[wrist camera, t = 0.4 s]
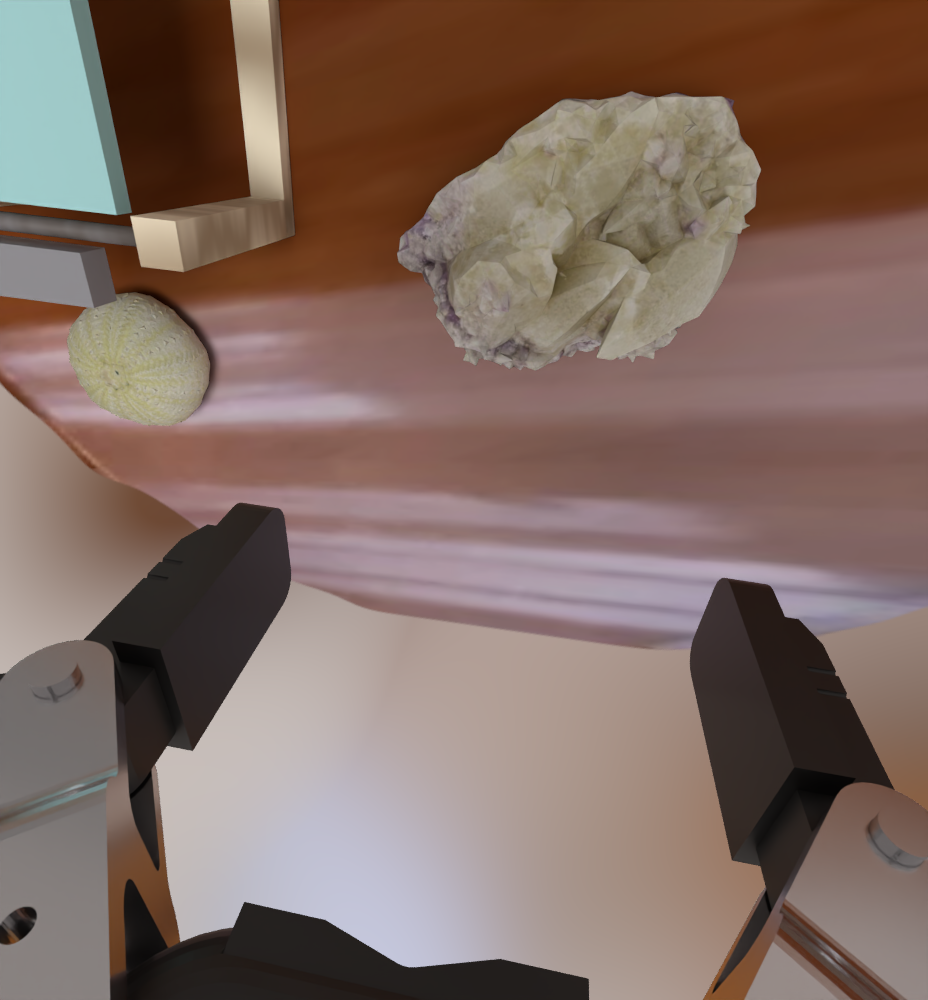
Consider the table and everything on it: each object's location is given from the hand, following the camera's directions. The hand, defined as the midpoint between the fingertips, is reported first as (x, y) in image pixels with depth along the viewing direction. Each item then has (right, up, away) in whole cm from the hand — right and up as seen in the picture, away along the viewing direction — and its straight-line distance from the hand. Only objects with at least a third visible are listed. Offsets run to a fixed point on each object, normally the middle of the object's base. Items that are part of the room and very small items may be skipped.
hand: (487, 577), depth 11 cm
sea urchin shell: (-22, +12, +30) cm, 40 cm away
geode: (+6, +16, +23) cm, 28 cm away
